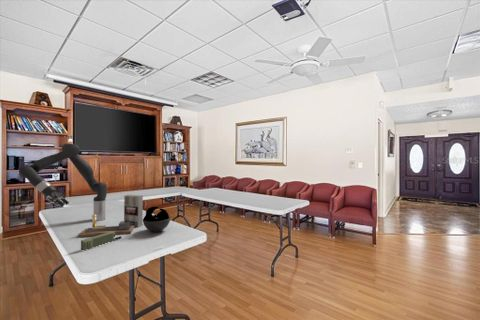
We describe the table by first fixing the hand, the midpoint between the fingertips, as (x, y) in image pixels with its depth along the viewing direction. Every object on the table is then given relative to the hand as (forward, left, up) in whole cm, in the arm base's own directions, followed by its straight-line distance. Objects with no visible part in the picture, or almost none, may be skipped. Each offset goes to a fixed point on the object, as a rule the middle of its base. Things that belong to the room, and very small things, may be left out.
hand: (65, 204), depth 164 cm
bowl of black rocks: (+5, +62, -23) cm, 66 cm away
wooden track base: (0, +27, -22) cm, 35 cm away
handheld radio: (+24, +30, -23) cm, 45 cm away
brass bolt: (0, +21, -20) cm, 29 cm away
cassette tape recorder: (-14, +42, -23) cm, 50 cm away
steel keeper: (0, +39, -20) cm, 44 cm away
